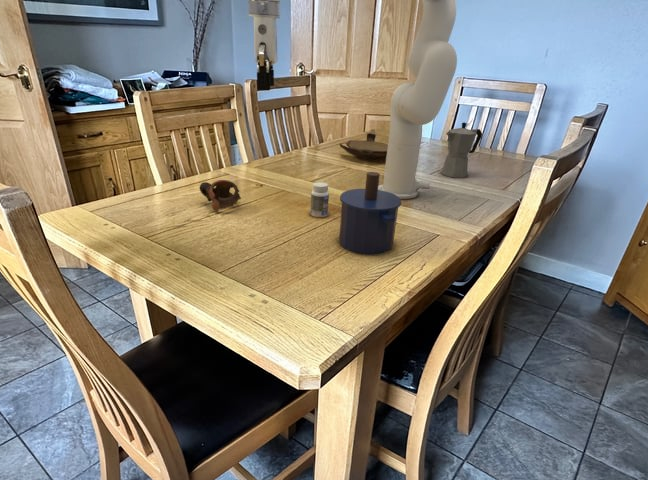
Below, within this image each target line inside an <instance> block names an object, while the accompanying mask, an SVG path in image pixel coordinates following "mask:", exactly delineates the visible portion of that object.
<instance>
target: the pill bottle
mask: <svg viewBox="0 0 648 480" xmlns="http://www.w3.org/2000/svg"><path fill="white" fill-rule="evenodd" d="M328 190H329V184H328V183H327V182H322V181H321V182H320V181H319V182H313V184H312V191H311V193H310V194H311V195H310V197H311V198H310V215H311V216H312V217H315V218H326V217H327V216H328V214H329V199H330V192H329V191H328Z"/></svg>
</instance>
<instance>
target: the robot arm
mask: <svg viewBox="0 0 648 480" xmlns="http://www.w3.org/2000/svg"><path fill="white" fill-rule="evenodd" d="M421 2H422V18H421V21H420V25H419V29H418V31H417V34H416V37H415V40H414V41H413V42H414V43H413V46H412V48H411V50H410V52H409V53H410V54H409V58H408V61H407V68H408V71H409V72H410V74H412V76H413V77H416V80H415V82H411V81H409V82H404V83H402V84H400V85H399V86H397V87H396V88H395V89H394V91H393V93H392V95H391V98H390V104H389V105H390V106H389V111H390V112H389V115H390V116H389V119H390V120H389V133H388V141H387V144H388V148H387V156H385V166H384V173H383V182H382V184H380V185H378V190H382V191H386V192H389V193H392V194H395V195H396V196H398V197H399V198H400V199H401V200H409V199H414V198H417V196H418V195H419V190H420V189H421V190H422V189H423V190H429V189H430V185H431V184H430V182H424V181H423V180H417V179H416V175H417V168H418V162H419V156H420V151H421V150H420V149H421V144H422V138H423V126H424V125H427V124H429V123H431V122H432V121H433V120H434V119H436V117H437V116H438V115H439V113H440V111H441V110H442V108H443V107H442V106H443V104H444V102H445V99H446V97H447V94H448V92H449V89H450V88H451V87H450V86H451V85H452V82H453V79H454V76H455V73H456V71H457V65H458V57H457V56H458V55H457V52H456V50H455V48H454V46H453V45H452V44H451V43H449V41H450V38H451V35H452V32H453V29H454V26H455V22H456V19H457V18H456V17H457V4H456V0H421ZM248 17H249V18H253V45H254V46H253V47H254V48H253V49H254V60H255V63H256V64H257V66H256V89H257V90H258V91H271V87H274V86H275V70H274V64H276V63H277V62H278V59H279V58H278V29H277V28H278V27H277V19H281V0H248Z"/></svg>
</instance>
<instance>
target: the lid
mask: <svg viewBox="0 0 648 480" xmlns="http://www.w3.org/2000/svg"><path fill="white" fill-rule="evenodd" d="M379 184H380V173H379V172H376V171H368V172H366V178H365V188H354V189H353V188H352V189H349V190H346V191H343V192H342V193H340V195H339V201H340V202H341V204H342V203H343V204H344V205H346V206H348V207H351V208H354V209H358V210H363V211H371V212H383V211H391V210H394V209H397V208H398V209H399V208H400V207H401V205H402V199H400V198H399V197H398V196H396V195H395V194H392V193H389V192H386V191H382V190H378V186H380V185H379Z"/></svg>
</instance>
